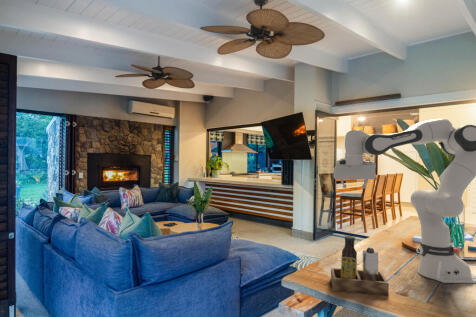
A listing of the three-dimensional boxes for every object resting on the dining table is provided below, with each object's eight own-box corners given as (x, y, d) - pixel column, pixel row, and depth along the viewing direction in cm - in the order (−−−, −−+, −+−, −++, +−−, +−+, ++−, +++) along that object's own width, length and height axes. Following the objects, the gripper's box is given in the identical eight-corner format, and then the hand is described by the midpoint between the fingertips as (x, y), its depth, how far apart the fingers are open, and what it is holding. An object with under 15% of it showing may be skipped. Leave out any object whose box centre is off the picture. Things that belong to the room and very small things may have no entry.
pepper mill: (376, 283, 126) (376, 245, 126) (380, 289, 121) (379, 250, 121) (361, 281, 128) (361, 244, 128) (364, 287, 122) (363, 249, 122)
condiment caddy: (381, 283, 129) (381, 271, 129) (388, 295, 117) (388, 283, 117) (331, 278, 134) (330, 267, 134) (333, 290, 122) (333, 278, 122)
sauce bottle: (340, 284, 125) (340, 237, 125) (341, 278, 131) (340, 234, 131) (357, 287, 123) (356, 239, 123) (357, 281, 129) (356, 235, 129)
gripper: (374, 161, 153) (374, 187, 153) (333, 161, 158) (333, 187, 158) (377, 161, 147) (377, 189, 147) (334, 161, 151) (334, 188, 152)
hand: (354, 188), depth 152 cm, fingers open, 8 cm apart
